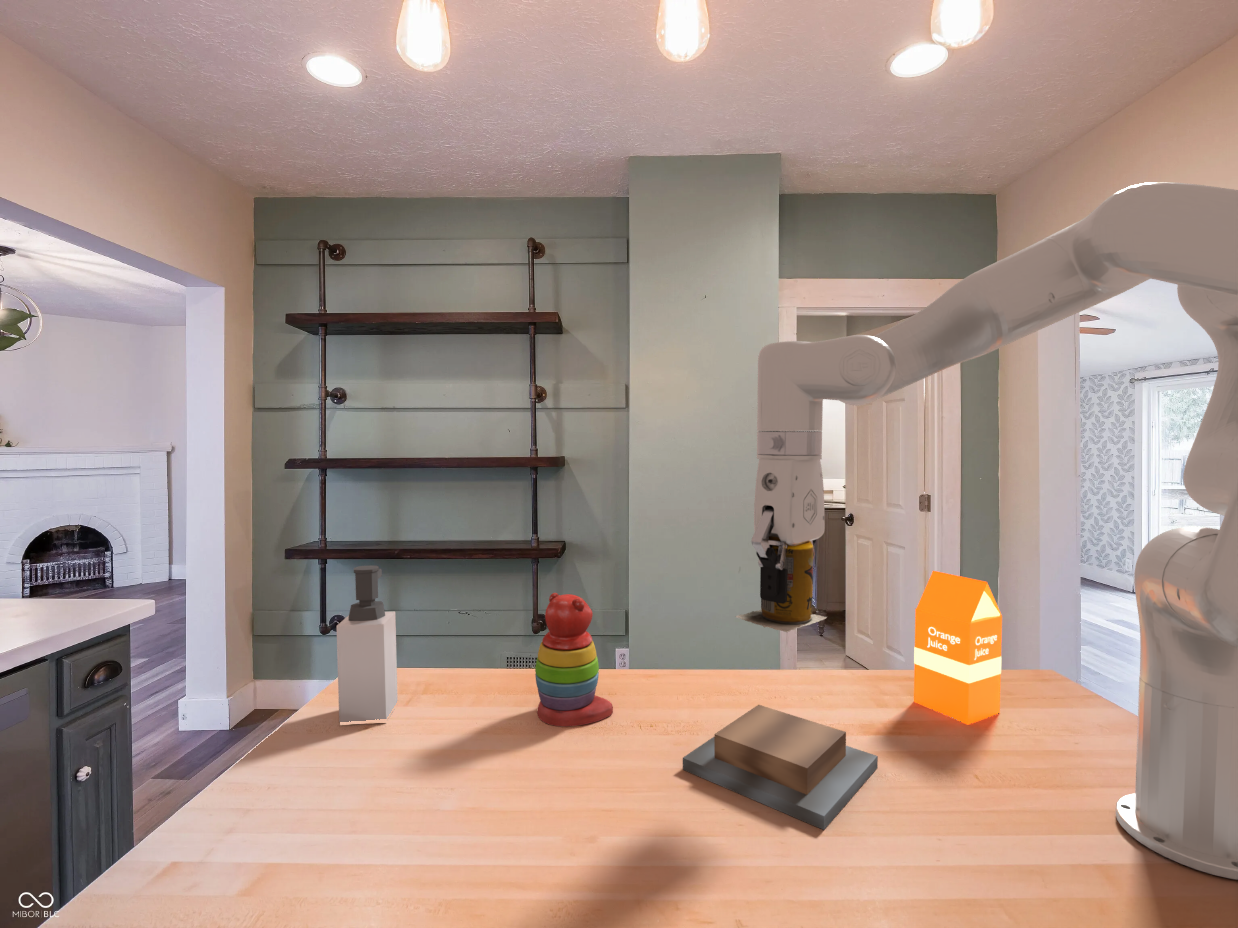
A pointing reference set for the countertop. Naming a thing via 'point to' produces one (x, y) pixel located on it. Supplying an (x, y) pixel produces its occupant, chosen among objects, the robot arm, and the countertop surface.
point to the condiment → (790, 594)
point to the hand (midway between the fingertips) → (786, 593)
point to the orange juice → (958, 648)
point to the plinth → (785, 796)
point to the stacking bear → (568, 666)
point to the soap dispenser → (367, 654)
